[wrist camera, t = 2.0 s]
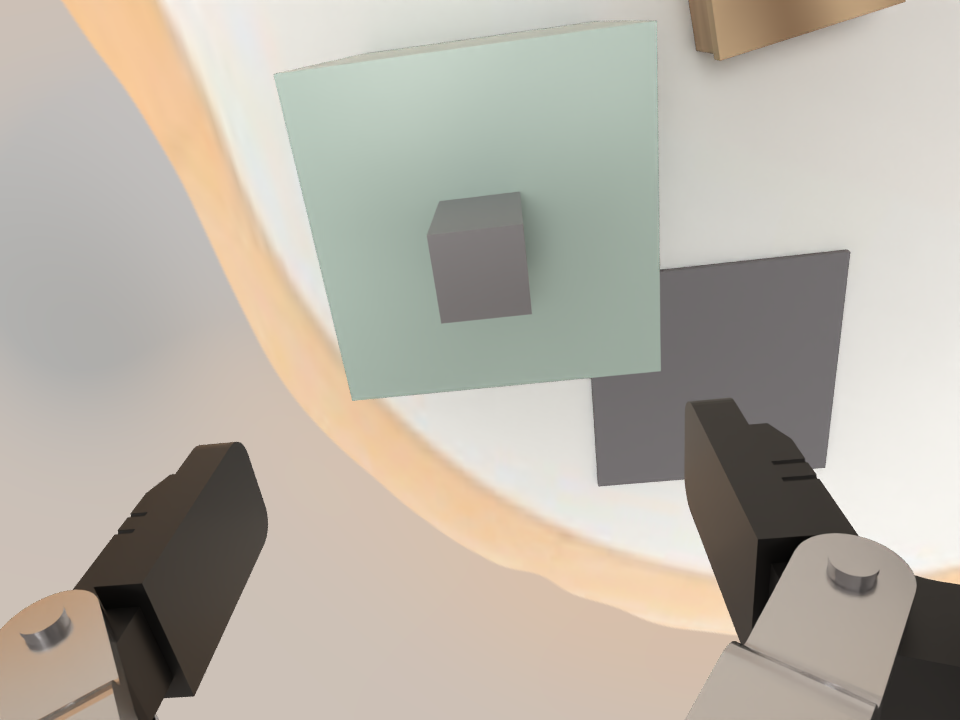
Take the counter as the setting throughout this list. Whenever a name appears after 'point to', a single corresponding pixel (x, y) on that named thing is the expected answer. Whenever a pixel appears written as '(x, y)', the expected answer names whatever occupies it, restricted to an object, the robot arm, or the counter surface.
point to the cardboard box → (767, 21)
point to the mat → (729, 362)
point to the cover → (486, 206)
